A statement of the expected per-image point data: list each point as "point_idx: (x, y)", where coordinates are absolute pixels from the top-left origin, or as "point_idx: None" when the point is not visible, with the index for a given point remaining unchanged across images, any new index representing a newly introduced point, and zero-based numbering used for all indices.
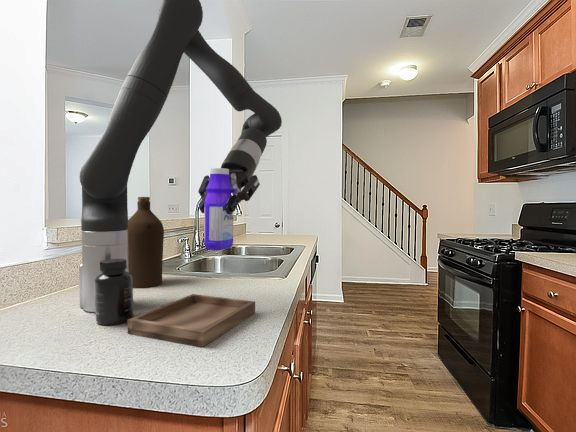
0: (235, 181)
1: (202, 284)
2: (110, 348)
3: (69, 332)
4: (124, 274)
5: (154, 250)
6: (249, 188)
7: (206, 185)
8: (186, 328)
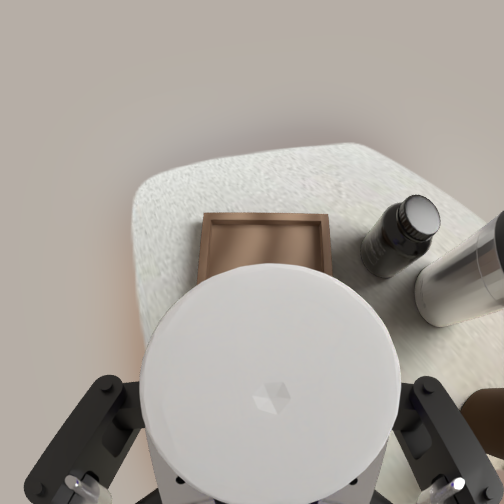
0: (161, 462)
1: (389, 479)
2: (305, 186)
3: (387, 204)
4: (393, 226)
5: (500, 425)
6: (79, 413)
7: (437, 449)
8: (230, 215)
